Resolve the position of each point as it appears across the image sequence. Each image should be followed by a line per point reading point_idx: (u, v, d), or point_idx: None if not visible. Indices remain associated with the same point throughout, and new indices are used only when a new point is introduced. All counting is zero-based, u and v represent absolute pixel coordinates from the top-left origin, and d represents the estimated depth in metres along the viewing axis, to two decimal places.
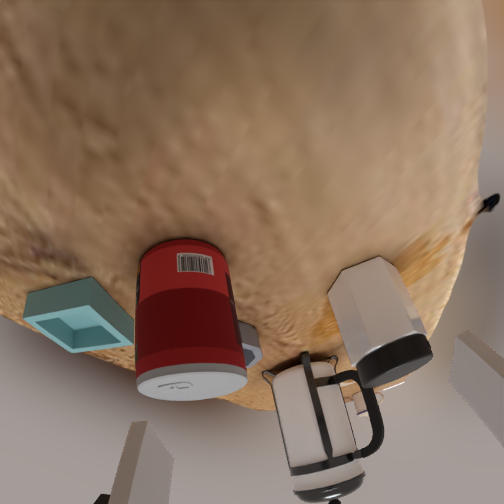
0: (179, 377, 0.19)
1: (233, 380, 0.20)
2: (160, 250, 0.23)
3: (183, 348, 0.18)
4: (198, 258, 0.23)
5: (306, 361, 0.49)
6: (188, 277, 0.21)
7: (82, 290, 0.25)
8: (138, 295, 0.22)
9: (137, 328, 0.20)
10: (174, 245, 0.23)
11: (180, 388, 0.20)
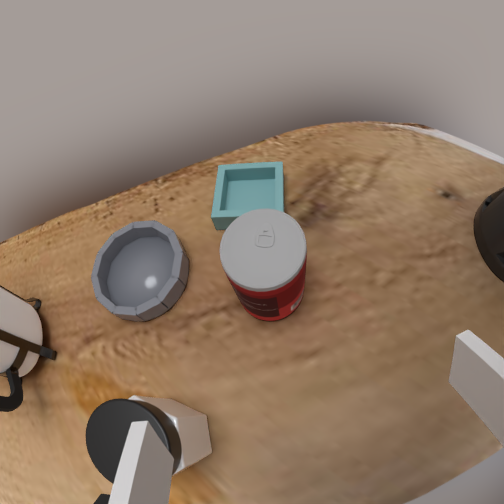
0: (285, 244, 0.27)
1: (256, 278, 0.26)
2: None
3: (305, 261, 0.27)
4: (298, 302, 0.33)
5: (47, 353, 0.34)
6: (302, 289, 0.32)
7: None
8: None
9: None
10: None
11: (258, 236, 0.27)
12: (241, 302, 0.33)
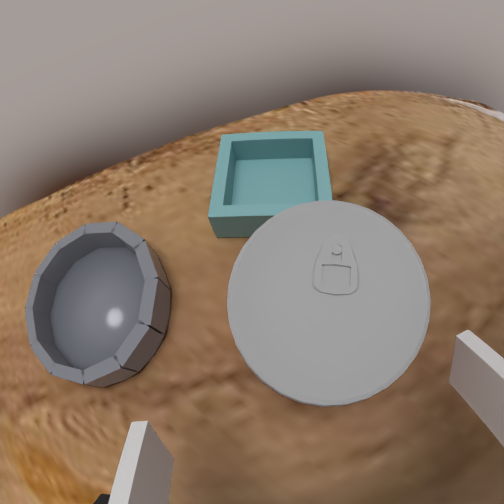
0: (383, 287, 0.11)
1: (322, 376, 0.09)
2: None
3: None
4: None
5: None
6: None
7: None
8: None
9: None
10: None
11: (320, 267, 0.11)
12: None
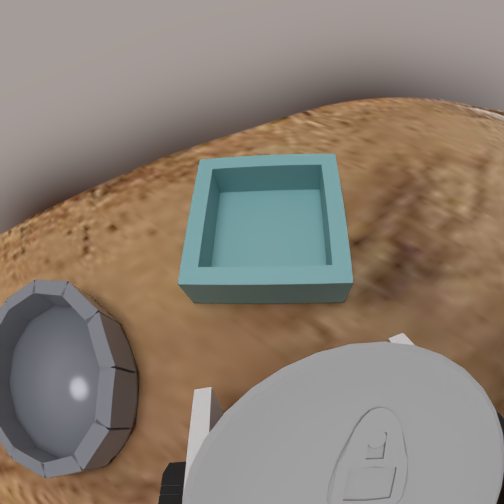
0: (440, 486, 0.04)
1: None
2: None
3: None
4: None
5: None
6: None
7: None
8: None
9: None
10: None
11: (344, 473, 0.05)
12: None
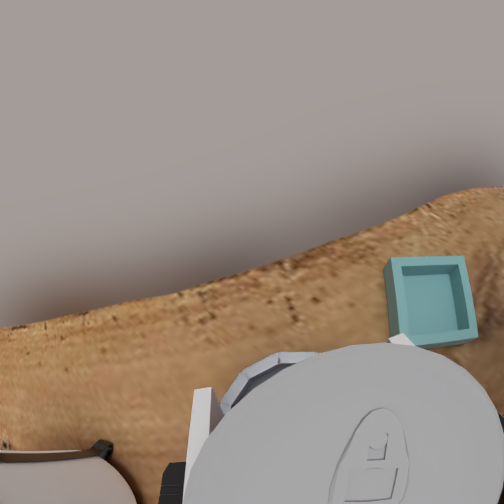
0: (442, 487, 0.04)
1: None
2: None
3: None
4: None
5: None
6: None
7: None
8: None
9: None
10: None
11: (345, 474, 0.05)
12: None
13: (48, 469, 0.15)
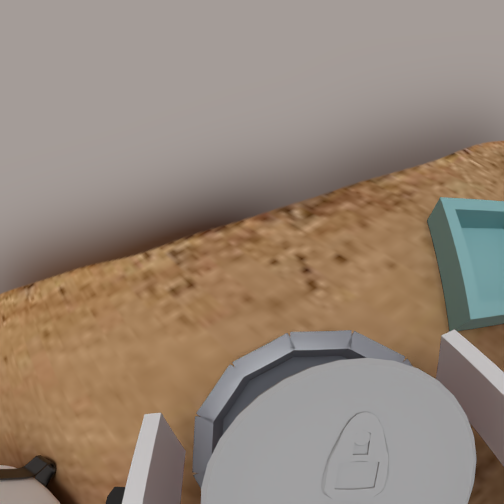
0: (418, 479, 0.05)
1: None
2: None
3: None
4: None
5: None
6: None
7: None
8: None
9: None
10: None
11: (335, 466, 0.06)
12: None
13: None
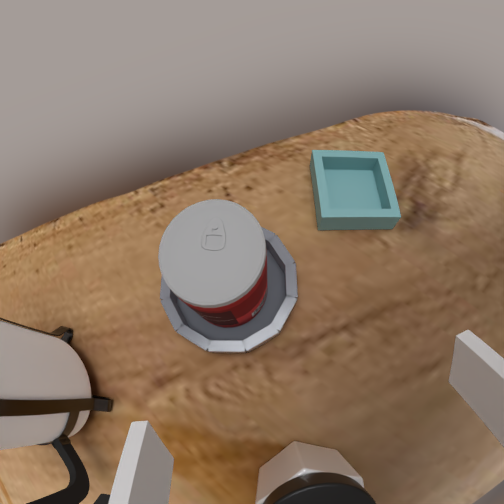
0: (239, 246, 0.21)
1: (203, 291, 0.20)
2: None
3: (265, 266, 0.22)
4: (260, 306, 0.28)
5: (102, 405, 0.26)
6: (264, 293, 0.27)
7: None
8: None
9: None
10: None
11: (205, 236, 0.22)
12: None
13: (10, 326, 0.19)
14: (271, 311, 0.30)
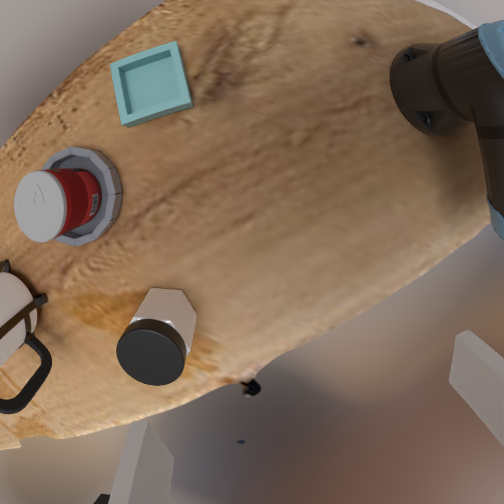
0: (51, 198, 0.27)
1: (43, 233, 0.28)
2: (97, 183, 0.36)
3: (71, 201, 0.29)
4: (95, 206, 0.36)
5: (40, 301, 0.40)
6: (91, 201, 0.34)
7: (190, 97, 0.34)
8: (76, 170, 0.33)
9: (65, 171, 0.30)
10: (100, 191, 0.37)
11: (33, 199, 0.27)
12: None
13: None
14: None
